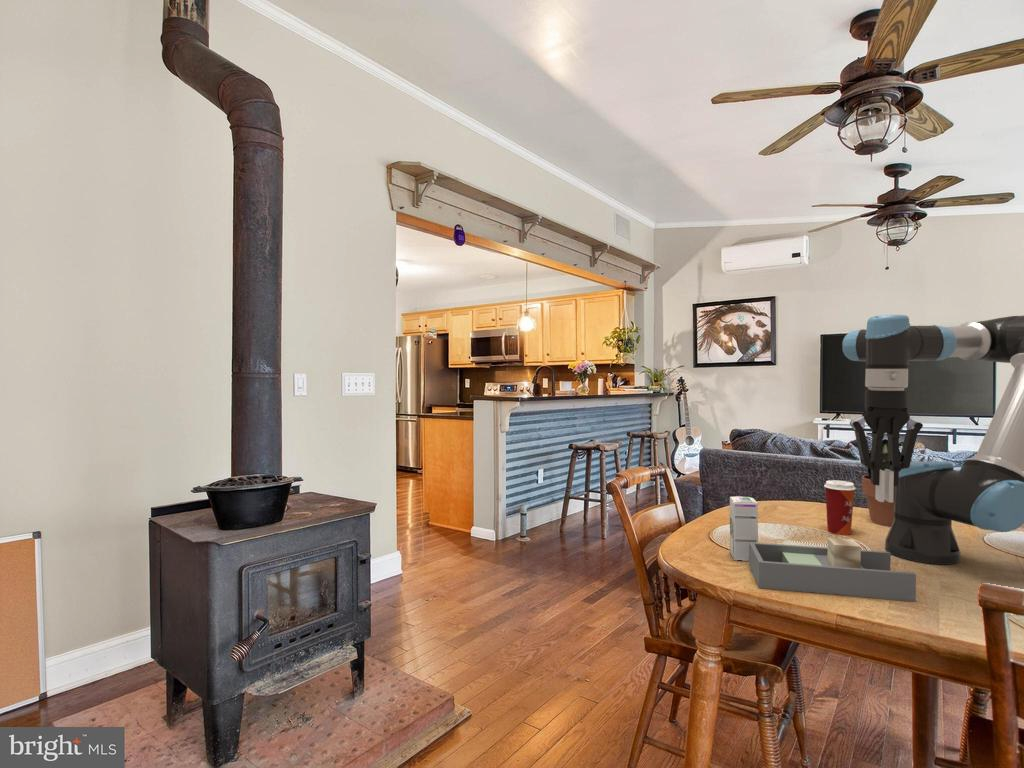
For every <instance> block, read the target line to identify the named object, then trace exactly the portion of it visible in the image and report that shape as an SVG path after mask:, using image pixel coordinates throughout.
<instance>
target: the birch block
mask: <svg viewBox="0 0 1024 768" xmlns="http://www.w3.org/2000/svg"><path fill="white" fill-rule="evenodd" d="M827 548H828V553H827V560H828V562H829V563H830V564H831V565H832V566H835V567H848V568H861V550H862V546H861V545H860V544H859V543H858V542H856V540H854V539H852V538H850V539H849V538H837V537H836V538H833V537H827Z"/></svg>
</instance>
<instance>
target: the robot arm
mask: <svg viewBox="0 0 1024 768" xmlns="http://www.w3.org/2000/svg"><path fill="white" fill-rule="evenodd" d="M841 345H842V352H843V355H844V356H845V357H846V358H847V359H848V360H849V361H854V362H861V363H862V362H865V379H864V381H865V382H864V386H865V387H866V388H867V389H866V390H865V391H864V411H863V413H862V415H861V417H859V418H857V419H855V420H851V421H849V425H850V427H851V428H852V430H853V431H854V435H855V439H856V446H857V450H858V451H857V452H858V453H859V454H858V456H859V460H860V464H861V465H863V466H864V467H866V468H868V467H869V468H870V469H871V483H872V484H873V485H876V492H875V499H876V500H878V501H879V502H884V500H886V501H888V502H892V503H893V486H894V520H893V523H892V525H891V526H890V528H889V529H888V530H889V531H888V532H887V534H886V537H885V542H884V550H885V552H890V553H891V555H893V556H895V557H899V558H901V559H905V560H909V561H914V562H917V563H918V562H919V563H925V564H933V565H934V564H935V565H952V564H956V563H959V562H960V561H961V549H960V547H959V544H958V542H957V538H956V536H955V533H954V530H953V526H952V524H953V523H952V521H953V522H957V523H961V524H964V525H968V526H973V527H976V528H978V529H980V530H986V531H993V532H999V533H1008V532H1011V531H1014V530H1017V529H1019V528H1020V527H1022V526H1023V525H1024V315H1011V316H1005V317H1004V316H1003V317H997V318H992V319H987V320H981V321H970V322H969V321H968V322H964V323H962V324H960V325H959V326H940V325H939V326H938V325H936V324H933V325H911V323H910V317H909V316H908V315H905V314H881V315H874V316H871V317H869V318H868V319H867V322H866V329H865V328H864V329H858V330H852V331H850V332H848V333H846V335H845V336H844V337H843V339H842V344H841ZM948 358H959V359H961V360H964V361H984V362H995V363H1004V364H1005V363H1006V364H1011V366H1012V367H1013V368H1014V369H1013V372H1012V374H1011V377H1010V378H1009V381H1008V383H1007V386H1006V387H1005V390H1004V392H1003V395H1002V396H1001V399H1000V401H999V403H998V406H997V407H996V410H995V412H994V414H993V416H992V419H991V421H990V423H989V424H988V425H989V426H988V427H987V430H986V432H985V434H984V436H983V439H982V441H981V443H980V445H979V447H978V450H977V452H976V455H975V456H974V457H973V456H972V457H970V458H967V459H964V461H963V464H962V465H961V467H960V470H954V469H955V467H954V465H953V463H952V462H949V461H936V460H935V461H934V460H933V461H930V460H927V461H926V460H925V461H924V460H923V461H922V460H921V461H912V458H913V454H914V451H915V450H914V449H915V445H916V442H917V437H918V434H919V432H920V431H921V430H922V429H923V427H924V425H923V423H922V422H918V421H916V420H914V419H912V418H911V415H910V414H909V411H908V407H909V405H908V404H909V401H908V400H909V398H908V397H909V392H907V390H905V389H906V388H908V386H909V362H925V361H927V362H936V361H943V360H946V359H948ZM865 424H866V425H867V426H868V427H869V429H870V430H871V448H870V451H871V460H870V456H869V453H870V451H869V446H868V441H867V436H866V432H865V427H866V425H865ZM904 427H905V429H906V431H905V435H904V438H903V443H902V446H901V447H902V448H901V451H900V453H901V455H900V459H899V450H900V436H901V435H900V432H901V430H902V429H903V428H904ZM885 434H886V437H887V440H888V458H889V468H890V470H889V469H885V471H883V470H881V469H880V468H881V456H882V443H883V440H884V437H885Z"/></svg>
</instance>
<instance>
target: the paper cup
mask: <svg viewBox="0 0 1024 768" xmlns="http://www.w3.org/2000/svg"><path fill="white" fill-rule="evenodd" d="M823 486H824V489H825V505H826V506H825V507H826V523H827V532H828V533H831V534H833V535H837V536H838V535H839V536H848V535H851V532H852V523H853V510H854V499H855V498H854V497H855V490H856V487H855V484H854V483H853V482H851V481H848V480H847V481H846V480H839V479H837V480H835V479H830V480H826V482H825V484H824V485H823Z"/></svg>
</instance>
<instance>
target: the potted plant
mask: <svg viewBox="0 0 1024 768" xmlns="http://www.w3.org/2000/svg"><path fill="white" fill-rule="evenodd" d="M900 455H901V451H900V449H899V459H900ZM869 456H870V460H871V450H870V451H869ZM880 469H881V470H883V471H885V469H889V470H890V468H889V458H888V438H885V439H884V438H883V443H882V456H881V468H880ZM867 473H868V474H863V475H862V476H861V478H862V479H861V481H862V493H863V494H864V495H865V498H866V504H867V508H868V514H869V517H870V518H869V519H870V521H871V522H872V523H874V524H876V525H880V526H887V527H891V525H892V523H893V520H894V486H893V503H892V502H888V501H886V500H884V502H879V501H878V500H876V499H875V492H876V485H873V484H872V483H871V469H870V468H869V467H867Z"/></svg>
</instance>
